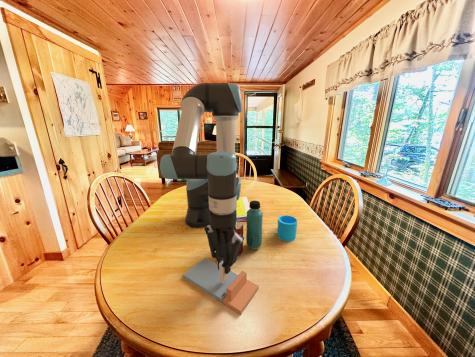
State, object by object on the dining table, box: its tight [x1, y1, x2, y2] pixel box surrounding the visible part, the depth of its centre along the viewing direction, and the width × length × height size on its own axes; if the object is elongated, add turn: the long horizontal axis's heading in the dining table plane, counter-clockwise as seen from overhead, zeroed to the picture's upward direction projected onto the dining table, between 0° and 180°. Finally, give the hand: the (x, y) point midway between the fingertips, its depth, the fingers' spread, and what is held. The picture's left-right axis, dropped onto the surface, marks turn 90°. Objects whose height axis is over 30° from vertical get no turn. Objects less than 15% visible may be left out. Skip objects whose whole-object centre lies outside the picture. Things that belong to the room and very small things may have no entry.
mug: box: [276, 214, 298, 242], centre depth 87 cm, size 12×8×8 cm
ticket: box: [182, 257, 239, 303], centre depth 63 cm, size 16×10×2 cm, turn 56°
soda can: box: [231, 220, 244, 257], centre depth 74 cm, size 7×7×12 cm
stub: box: [222, 270, 260, 316], centre depth 56 cm, size 6×10×5 cm, turn 146°
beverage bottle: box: [245, 200, 264, 250], centre depth 76 cm, size 6×7×20 cm
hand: (224, 279), depth 59 cm, fingers closed
